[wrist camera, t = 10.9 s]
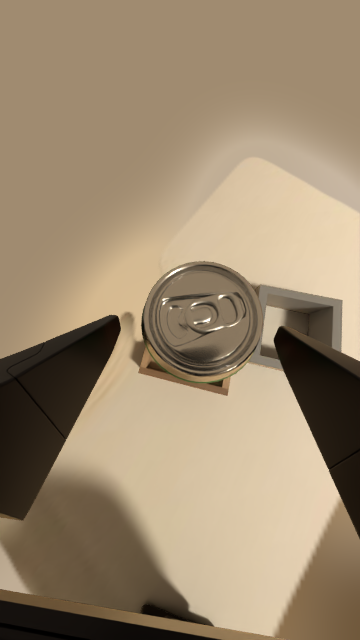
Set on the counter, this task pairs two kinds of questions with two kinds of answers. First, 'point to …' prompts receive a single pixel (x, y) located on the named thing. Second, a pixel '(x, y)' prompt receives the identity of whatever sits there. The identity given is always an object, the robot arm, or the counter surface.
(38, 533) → the counter surface
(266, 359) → the box
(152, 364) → the walnut tray
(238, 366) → the soda can
